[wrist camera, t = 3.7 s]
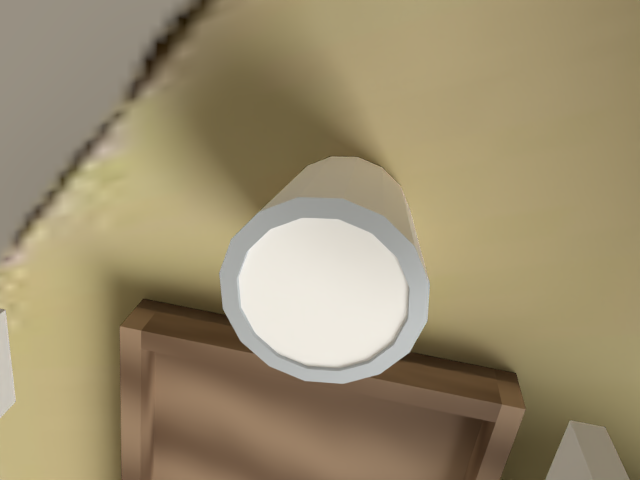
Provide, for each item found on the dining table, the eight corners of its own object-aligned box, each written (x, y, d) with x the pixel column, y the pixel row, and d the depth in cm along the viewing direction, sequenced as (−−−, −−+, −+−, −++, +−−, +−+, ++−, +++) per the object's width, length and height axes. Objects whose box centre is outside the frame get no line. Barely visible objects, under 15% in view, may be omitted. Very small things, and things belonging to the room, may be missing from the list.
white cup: (365, 315, 26) (350, 419, 20) (238, 235, 26) (182, 315, 19) (459, 201, 23) (477, 279, 17) (320, 107, 23) (286, 152, 16)
